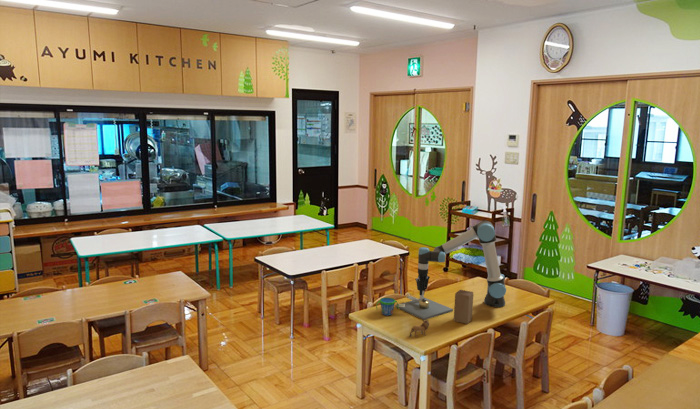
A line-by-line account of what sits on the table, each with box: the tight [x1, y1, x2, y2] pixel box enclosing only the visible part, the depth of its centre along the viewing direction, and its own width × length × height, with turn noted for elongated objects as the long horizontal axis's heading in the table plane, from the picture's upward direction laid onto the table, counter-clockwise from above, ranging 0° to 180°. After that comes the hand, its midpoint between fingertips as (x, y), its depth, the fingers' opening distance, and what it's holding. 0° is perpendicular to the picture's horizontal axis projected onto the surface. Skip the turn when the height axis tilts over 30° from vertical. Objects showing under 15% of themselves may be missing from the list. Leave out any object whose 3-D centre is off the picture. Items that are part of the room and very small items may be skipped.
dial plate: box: [394, 297, 454, 321], centre depth 354 cm, size 30×30×2 cm
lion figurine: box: [409, 319, 430, 338], centre depth 309 cm, size 15×5×9 cm, turn 121°
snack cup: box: [375, 297, 399, 316], centre depth 343 cm, size 16×10×10 cm
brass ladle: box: [406, 294, 429, 308], centre depth 359 cm, size 22×7×6 cm, turn 37°
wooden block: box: [453, 289, 474, 325], centre depth 333 cm, size 10×10×20 cm
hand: (421, 298), depth 366 cm, fingers closed
